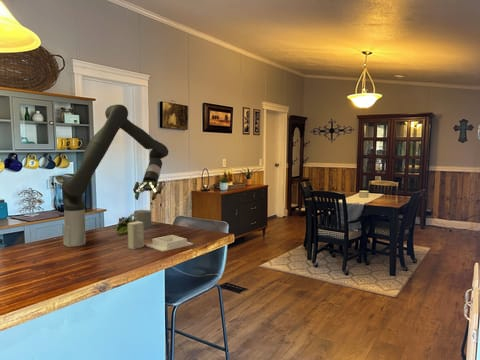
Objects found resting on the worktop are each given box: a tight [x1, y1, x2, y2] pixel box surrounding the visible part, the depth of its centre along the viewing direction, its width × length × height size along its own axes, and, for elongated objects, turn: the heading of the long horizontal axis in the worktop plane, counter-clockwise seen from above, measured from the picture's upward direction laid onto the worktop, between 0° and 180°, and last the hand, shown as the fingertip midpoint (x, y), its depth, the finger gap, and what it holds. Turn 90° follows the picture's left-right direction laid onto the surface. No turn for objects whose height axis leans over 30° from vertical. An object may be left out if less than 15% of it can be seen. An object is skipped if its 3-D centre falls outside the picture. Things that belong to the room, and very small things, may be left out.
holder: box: [145, 234, 194, 252], centre depth 182 cm, size 18×14×3 cm
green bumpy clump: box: [114, 216, 136, 236], centre depth 205 cm, size 11×11×12 cm
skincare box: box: [127, 221, 145, 250], centre depth 177 cm, size 6×4×12 cm
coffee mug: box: [128, 209, 152, 231], centre depth 221 cm, size 13×10×10 cm
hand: (144, 199), depth 187 cm, fingers open, 8 cm apart
